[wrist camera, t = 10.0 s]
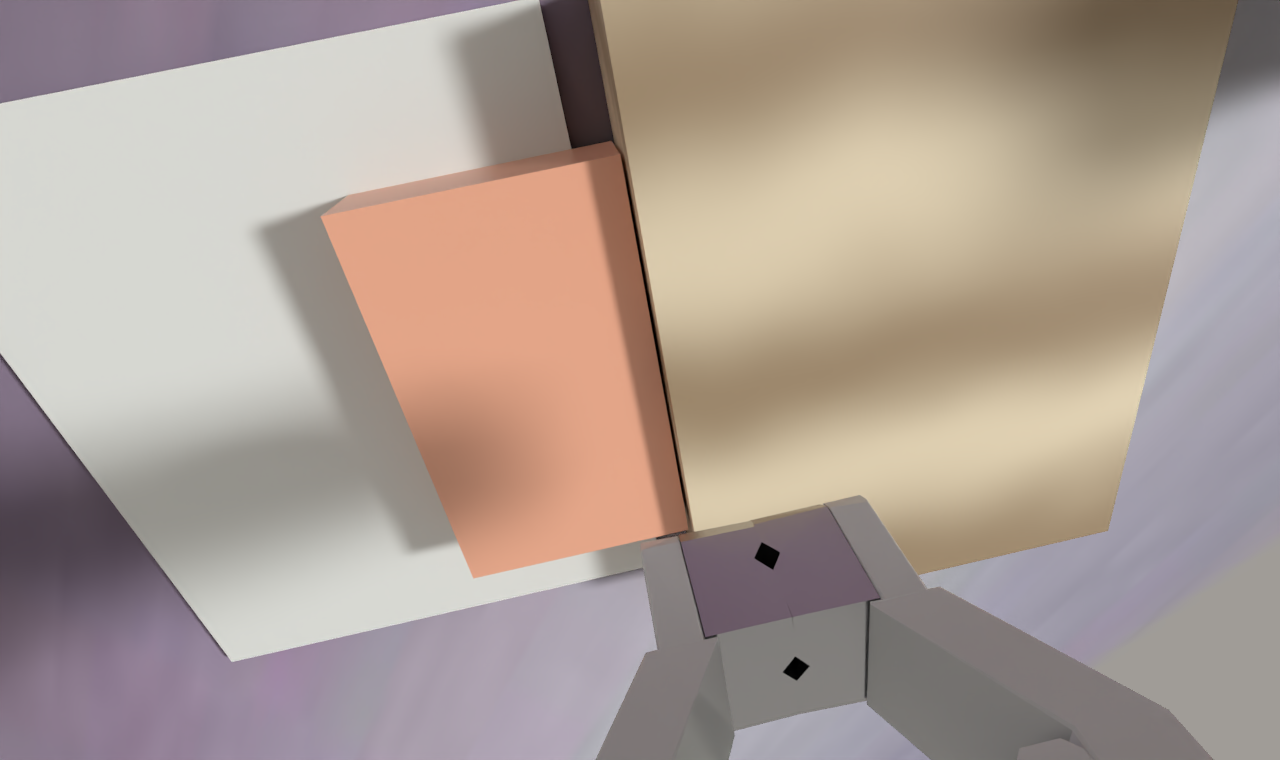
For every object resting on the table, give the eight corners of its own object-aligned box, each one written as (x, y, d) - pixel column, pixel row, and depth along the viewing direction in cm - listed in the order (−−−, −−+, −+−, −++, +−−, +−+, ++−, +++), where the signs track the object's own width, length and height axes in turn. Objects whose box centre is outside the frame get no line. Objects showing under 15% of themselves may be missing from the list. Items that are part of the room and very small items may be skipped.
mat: (-148, 134, 13) (-163, 136, 12) (538, -3, 13) (538, -4, 13) (236, 654, 20) (232, 661, 20) (660, 556, 21) (661, 563, 21)
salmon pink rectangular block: (348, 194, 14) (320, 216, 12) (611, 140, 14) (620, 154, 13) (479, 529, 19) (473, 578, 17) (675, 485, 19) (688, 529, 17)
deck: (585, -12, 13) (595, -26, 11) (1135, -122, 14) (1277, -161, 11) (689, 550, 21) (710, 623, 18) (1038, 470, 21) (1108, 530, 19)
